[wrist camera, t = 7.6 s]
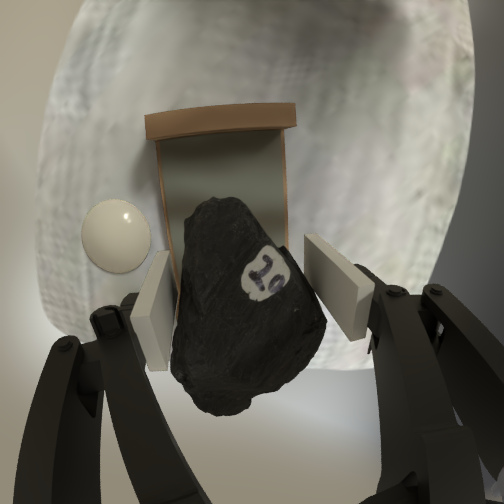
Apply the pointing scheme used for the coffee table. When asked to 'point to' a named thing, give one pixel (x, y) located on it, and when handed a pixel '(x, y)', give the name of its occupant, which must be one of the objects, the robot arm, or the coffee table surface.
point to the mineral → (240, 311)
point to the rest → (222, 164)
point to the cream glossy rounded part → (116, 236)
